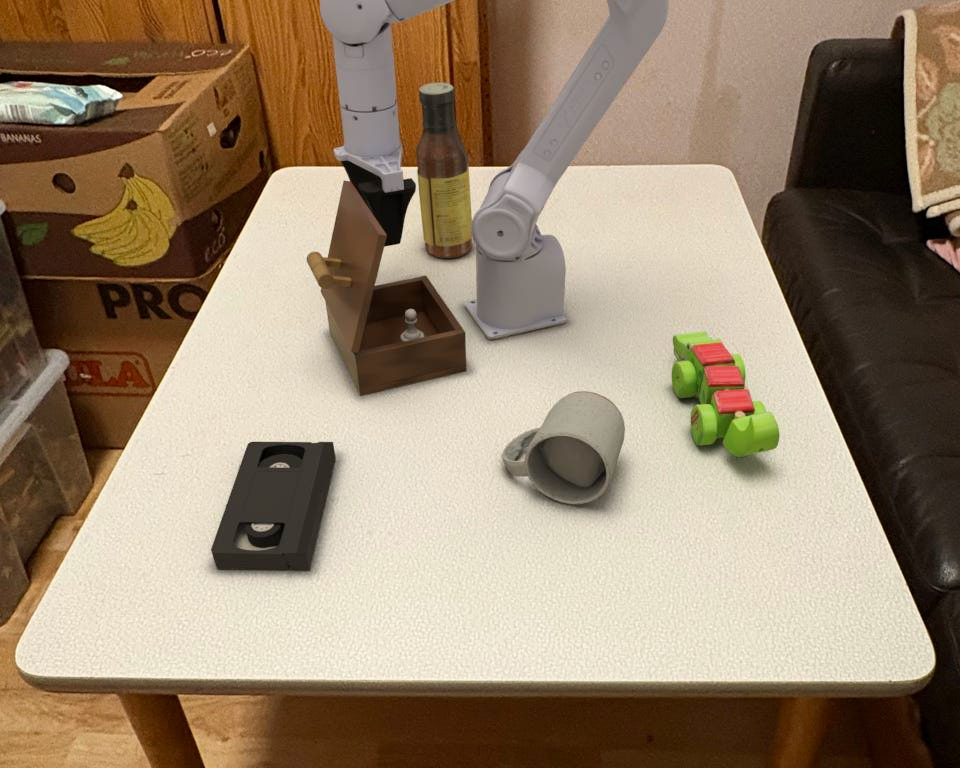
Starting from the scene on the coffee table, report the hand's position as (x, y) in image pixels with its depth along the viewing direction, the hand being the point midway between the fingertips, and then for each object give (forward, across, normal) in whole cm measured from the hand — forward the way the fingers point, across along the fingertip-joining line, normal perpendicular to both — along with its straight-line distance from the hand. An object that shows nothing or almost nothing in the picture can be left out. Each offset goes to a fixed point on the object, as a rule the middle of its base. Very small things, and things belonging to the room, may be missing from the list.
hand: (380, 228), depth 100 cm
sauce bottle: (+10, -10, +11) cm, 18 cm away
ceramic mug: (+10, +35, +6) cm, 37 cm away
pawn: (+9, +10, 0) cm, 13 cm away
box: (+9, +10, -2) cm, 14 cm away
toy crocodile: (+10, +32, +24) cm, 41 cm away
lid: (-2, +10, -5) cm, 12 cm away
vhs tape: (+10, +30, -19) cm, 37 cm away
